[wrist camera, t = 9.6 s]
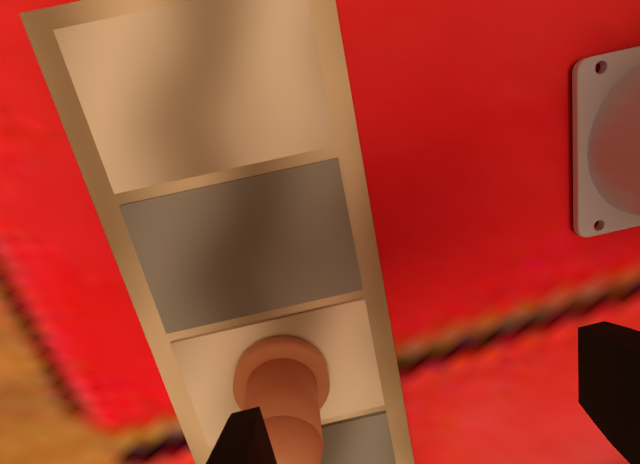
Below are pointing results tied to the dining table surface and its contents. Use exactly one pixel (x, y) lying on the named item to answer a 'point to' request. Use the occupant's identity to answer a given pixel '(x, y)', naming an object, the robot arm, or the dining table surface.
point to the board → (232, 198)
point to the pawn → (285, 395)
